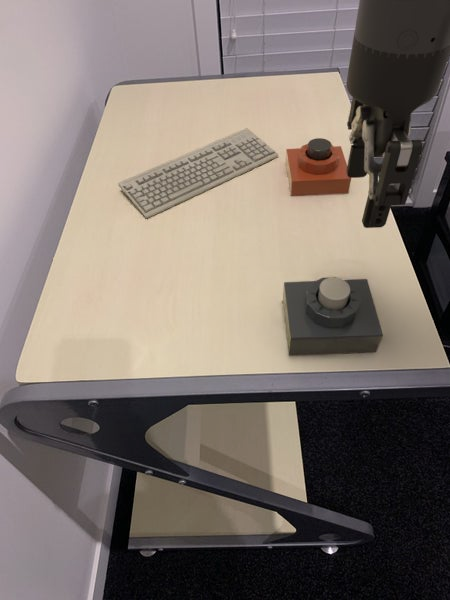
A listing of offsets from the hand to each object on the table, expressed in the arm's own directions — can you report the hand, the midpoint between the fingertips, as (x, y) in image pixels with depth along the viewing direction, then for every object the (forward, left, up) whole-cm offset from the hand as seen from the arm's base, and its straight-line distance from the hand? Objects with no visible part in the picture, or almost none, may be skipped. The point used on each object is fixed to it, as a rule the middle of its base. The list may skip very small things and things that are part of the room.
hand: (363, 199), depth 46 cm
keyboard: (+20, -32, -18) cm, 42 cm away
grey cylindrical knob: (+2, +4, -12) cm, 13 cm away
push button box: (+2, +4, -18) cm, 18 cm away
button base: (-1, -29, -18) cm, 34 cm away
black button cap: (-1, -29, -13) cm, 32 cm away
